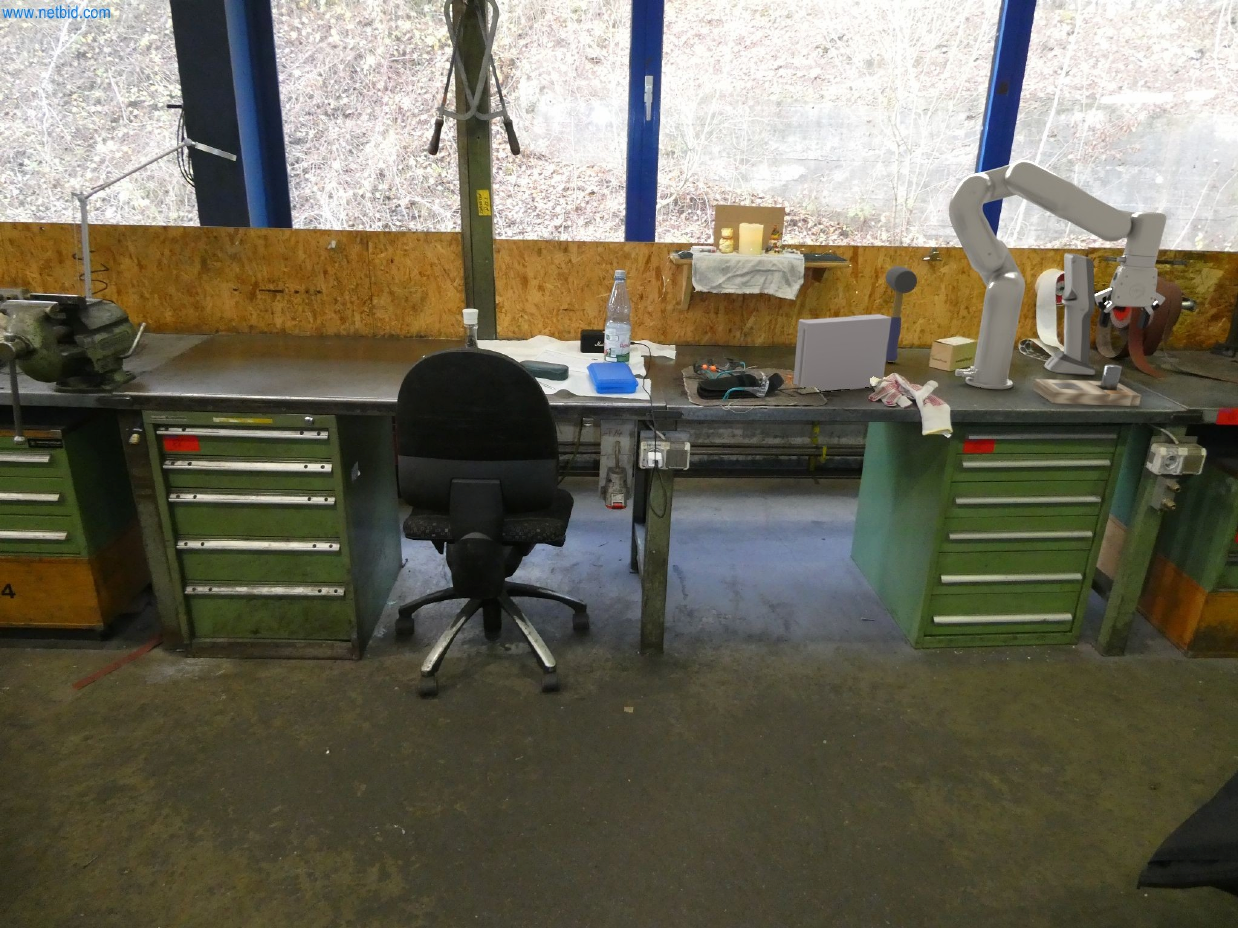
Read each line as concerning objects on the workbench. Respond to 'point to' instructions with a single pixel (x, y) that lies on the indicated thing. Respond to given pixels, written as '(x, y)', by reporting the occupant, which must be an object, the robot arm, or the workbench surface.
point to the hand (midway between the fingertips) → (1122, 327)
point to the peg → (1110, 377)
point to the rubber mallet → (898, 304)
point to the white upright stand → (1076, 317)
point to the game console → (841, 351)
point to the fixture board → (1085, 393)
